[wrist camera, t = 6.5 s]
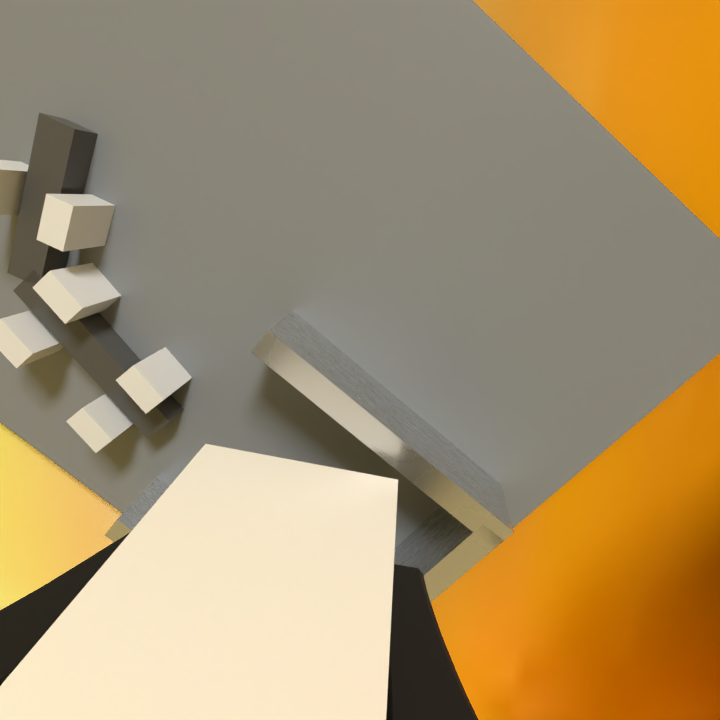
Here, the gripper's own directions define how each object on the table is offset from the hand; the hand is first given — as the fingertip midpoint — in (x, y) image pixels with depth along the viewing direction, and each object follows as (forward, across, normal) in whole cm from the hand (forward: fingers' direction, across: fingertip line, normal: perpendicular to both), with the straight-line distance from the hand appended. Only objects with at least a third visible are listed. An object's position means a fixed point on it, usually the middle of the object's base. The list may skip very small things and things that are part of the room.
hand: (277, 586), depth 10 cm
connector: (+1, 0, 0) cm, 1 cm away
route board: (+4, +2, -5) cm, 7 cm away
